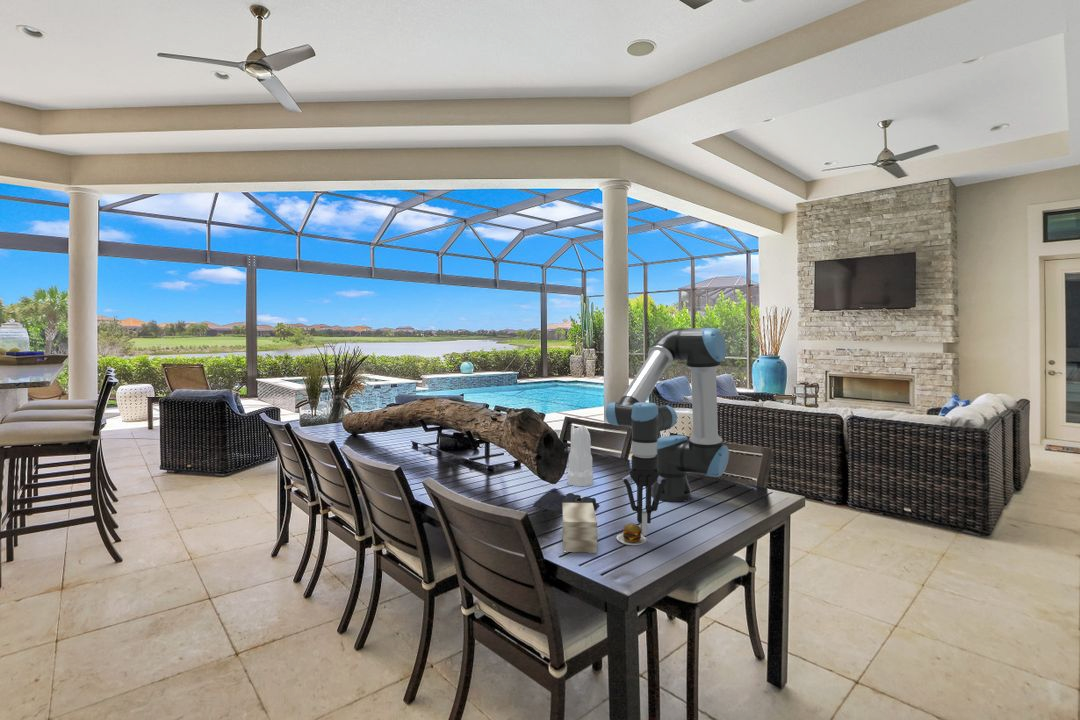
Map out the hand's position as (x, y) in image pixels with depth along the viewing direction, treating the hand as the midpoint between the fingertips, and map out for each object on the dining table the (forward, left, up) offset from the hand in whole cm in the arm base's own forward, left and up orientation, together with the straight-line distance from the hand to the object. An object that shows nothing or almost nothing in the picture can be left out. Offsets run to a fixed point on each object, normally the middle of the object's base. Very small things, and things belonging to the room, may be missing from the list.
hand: (643, 533), depth 151 cm
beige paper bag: (+19, 0, -3) cm, 19 cm away
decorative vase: (+16, -62, -3) cm, 64 cm away
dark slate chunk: (+22, -32, -3) cm, 39 cm away
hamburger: (+4, -1, -3) cm, 5 cm away
